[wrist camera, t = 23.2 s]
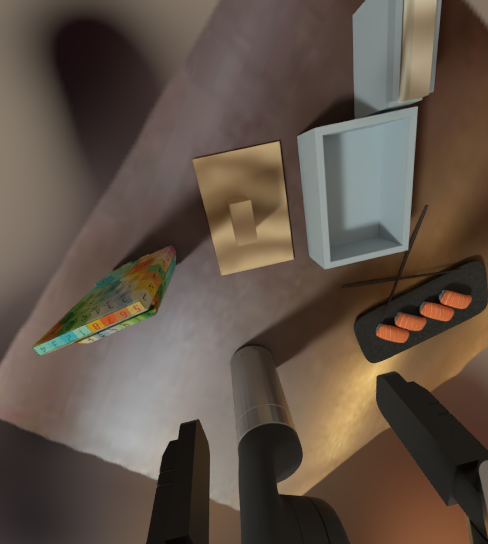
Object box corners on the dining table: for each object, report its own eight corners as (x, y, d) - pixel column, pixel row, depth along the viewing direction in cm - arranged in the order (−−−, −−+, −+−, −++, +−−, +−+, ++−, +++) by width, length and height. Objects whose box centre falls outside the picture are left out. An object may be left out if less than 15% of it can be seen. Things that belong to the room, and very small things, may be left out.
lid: (292, 257, 46) (307, 273, 38) (221, 273, 45) (223, 292, 38) (277, 142, 38) (293, 134, 31) (192, 159, 38) (187, 156, 30)
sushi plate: (364, 361, 58) (374, 373, 54) (320, 258, 46) (329, 265, 43) (481, 304, 55) (499, 313, 52) (464, 181, 44) (486, 182, 41)
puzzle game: (169, 240, 41) (134, 292, 23) (183, 264, 43) (160, 330, 25) (108, 268, 42) (25, 340, 23) (124, 290, 44) (58, 374, 25)
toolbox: (381, 239, 46) (419, 253, 37) (309, 255, 45) (331, 274, 37) (386, 8, 33) (446, -49, 25) (286, 28, 33) (312, -24, 24)
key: (415, 99, 30) (429, 94, 28) (397, 103, 30) (409, 98, 28) (424, -34, 26) (440, -50, 24) (403, -30, 26) (417, -46, 24)
